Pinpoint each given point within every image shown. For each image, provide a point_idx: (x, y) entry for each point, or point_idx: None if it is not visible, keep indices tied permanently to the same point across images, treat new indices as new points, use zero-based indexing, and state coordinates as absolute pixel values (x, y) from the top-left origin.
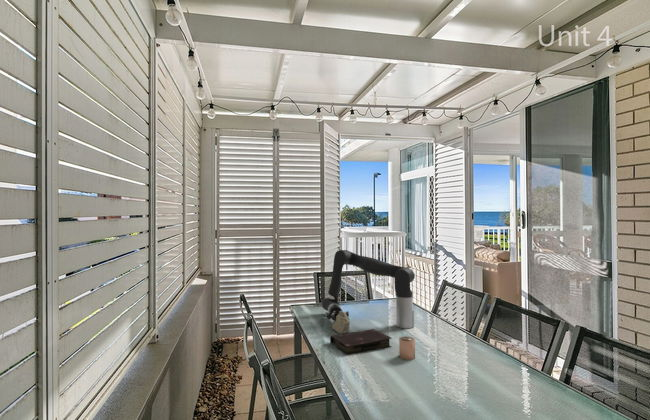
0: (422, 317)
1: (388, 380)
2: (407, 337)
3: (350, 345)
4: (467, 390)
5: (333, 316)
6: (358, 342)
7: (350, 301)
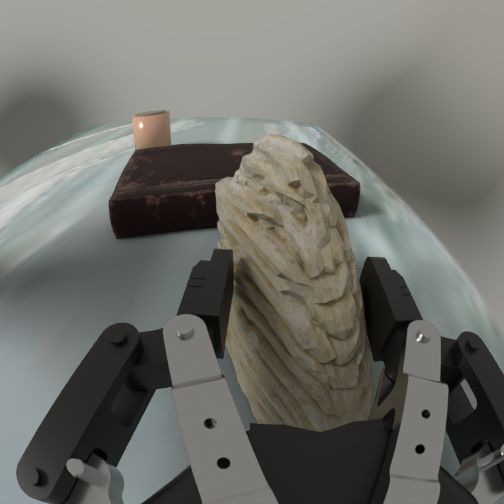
0: None
1: (245, 131)
2: (143, 114)
3: None
4: None
5: (397, 290)
6: None
7: None
